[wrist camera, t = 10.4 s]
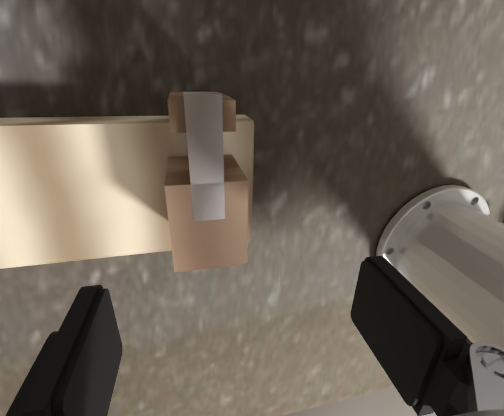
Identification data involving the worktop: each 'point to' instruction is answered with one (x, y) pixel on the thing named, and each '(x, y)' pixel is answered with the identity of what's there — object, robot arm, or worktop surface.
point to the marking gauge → (205, 185)
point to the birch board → (93, 185)
